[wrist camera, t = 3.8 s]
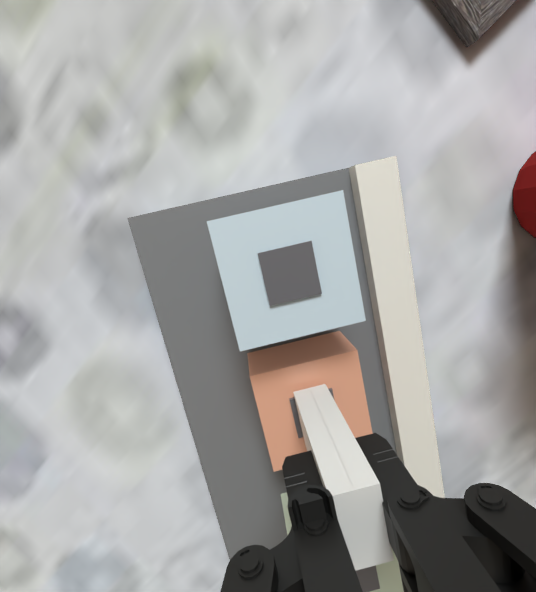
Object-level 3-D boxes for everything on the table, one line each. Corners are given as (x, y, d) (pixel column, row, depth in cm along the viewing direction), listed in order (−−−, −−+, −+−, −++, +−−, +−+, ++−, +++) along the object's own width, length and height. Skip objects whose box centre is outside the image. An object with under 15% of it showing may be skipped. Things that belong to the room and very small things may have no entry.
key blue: (344, 303, 18) (367, 321, 15) (238, 329, 17) (239, 352, 14) (324, 194, 17) (344, 189, 14) (211, 220, 16) (206, 221, 13)
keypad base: (436, 573, 27) (461, 617, 24) (256, 622, 26) (259, 673, 23) (373, 164, 21) (396, 155, 18) (137, 218, 20) (121, 218, 17)
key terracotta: (355, 414, 21) (376, 447, 18) (268, 436, 21) (274, 473, 18) (339, 330, 20) (358, 351, 17) (247, 353, 20) (249, 377, 17)
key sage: (389, 548, 21) (416, 605, 18) (300, 572, 21) (311, 634, 17) (374, 469, 20) (400, 516, 17) (280, 493, 19) (289, 545, 16)
